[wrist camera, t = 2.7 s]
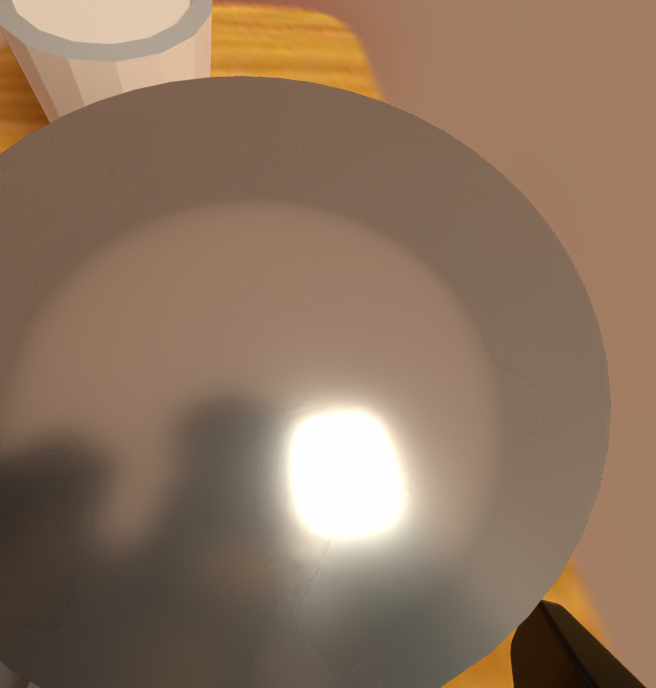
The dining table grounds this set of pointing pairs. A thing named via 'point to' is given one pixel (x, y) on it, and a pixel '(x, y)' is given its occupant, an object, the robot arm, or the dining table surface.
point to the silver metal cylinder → (280, 395)
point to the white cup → (105, 46)
